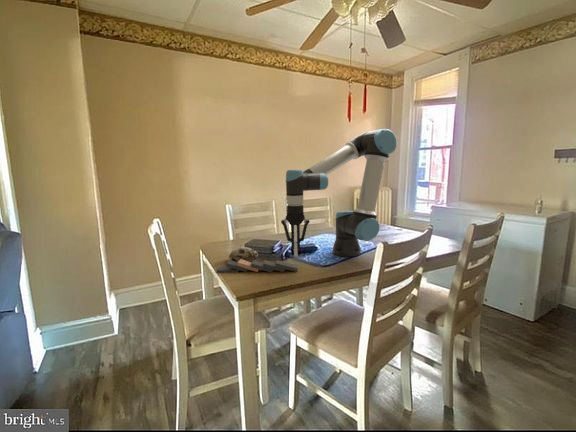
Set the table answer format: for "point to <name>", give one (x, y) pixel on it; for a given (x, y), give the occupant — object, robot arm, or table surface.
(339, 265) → the table surface
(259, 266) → the domino
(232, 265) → the domino
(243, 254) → the skull
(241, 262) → the domino
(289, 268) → the domino
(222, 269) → the domino
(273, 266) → the domino
